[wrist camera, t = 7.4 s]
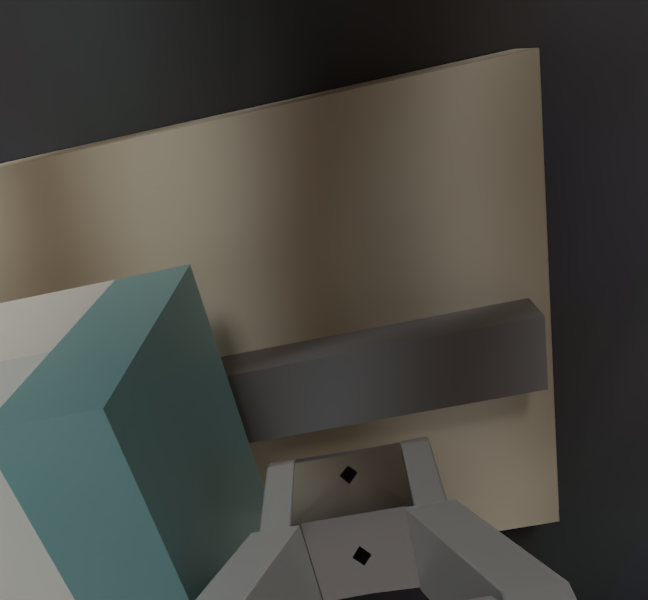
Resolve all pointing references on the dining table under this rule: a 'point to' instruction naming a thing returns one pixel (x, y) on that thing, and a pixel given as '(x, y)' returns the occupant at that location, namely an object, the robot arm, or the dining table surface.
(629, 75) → the dining table surface
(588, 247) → the dining table surface
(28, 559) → the block with teal panel
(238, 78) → the dining table surface
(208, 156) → the frame
